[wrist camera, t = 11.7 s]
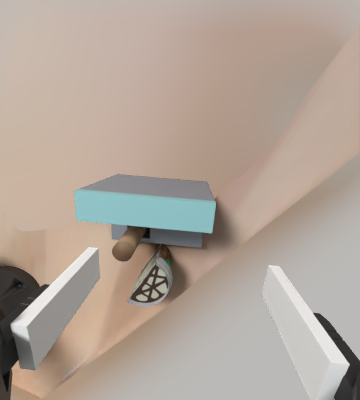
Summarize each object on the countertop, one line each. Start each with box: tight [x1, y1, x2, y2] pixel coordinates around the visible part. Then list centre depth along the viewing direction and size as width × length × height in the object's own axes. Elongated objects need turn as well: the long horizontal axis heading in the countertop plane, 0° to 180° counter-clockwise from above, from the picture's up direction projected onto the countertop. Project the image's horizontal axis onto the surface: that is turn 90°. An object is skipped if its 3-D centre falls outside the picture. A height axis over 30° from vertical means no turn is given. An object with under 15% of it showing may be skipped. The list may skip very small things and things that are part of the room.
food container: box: [128, 244, 173, 307], centre depth 43 cm, size 12×6×10 cm, turn 146°
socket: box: [74, 174, 216, 248], centre depth 36 cm, size 20×14×16 cm
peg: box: [112, 226, 147, 261], centre depth 38 cm, size 3×3×14 cm
